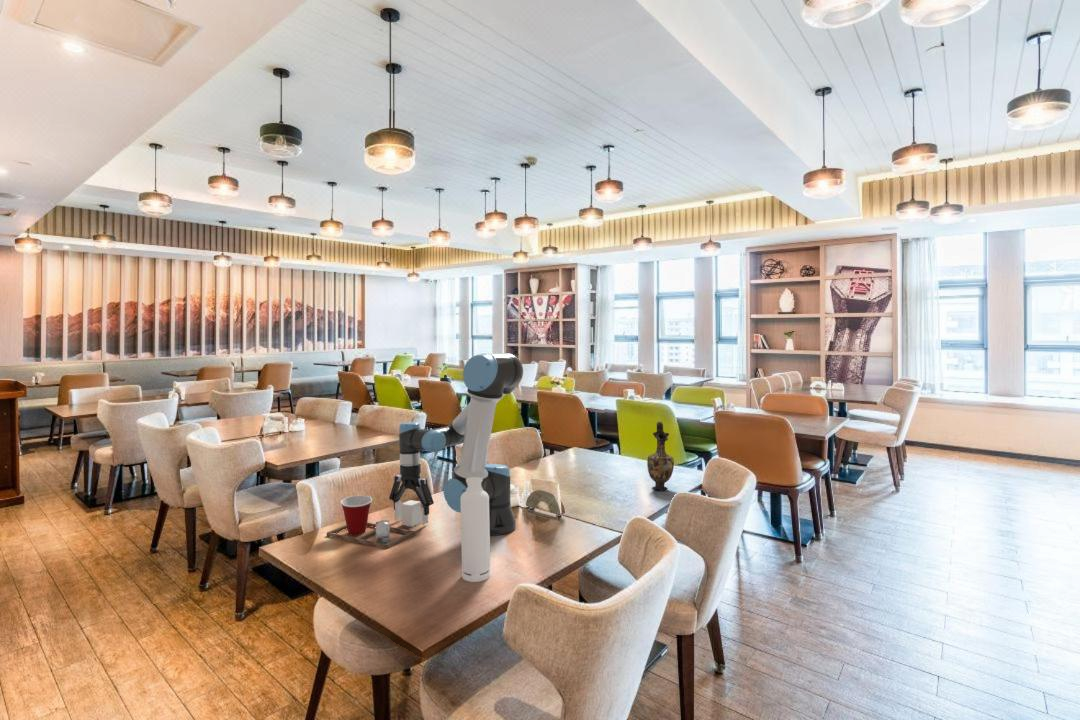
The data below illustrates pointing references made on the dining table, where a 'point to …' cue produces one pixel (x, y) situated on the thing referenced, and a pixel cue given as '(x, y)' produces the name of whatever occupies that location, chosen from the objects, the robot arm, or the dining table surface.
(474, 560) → the bottle
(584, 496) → the dining table surface
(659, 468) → the vase
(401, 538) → the holder frame
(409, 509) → the sugar box
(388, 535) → the silvery rounded piece
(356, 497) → the plastic cup
